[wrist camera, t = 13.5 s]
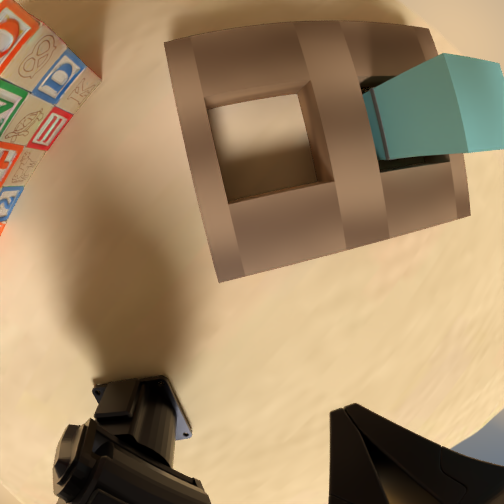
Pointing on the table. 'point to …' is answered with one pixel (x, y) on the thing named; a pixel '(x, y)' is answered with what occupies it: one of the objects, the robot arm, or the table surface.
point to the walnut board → (320, 138)
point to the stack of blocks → (33, 96)
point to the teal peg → (438, 109)
